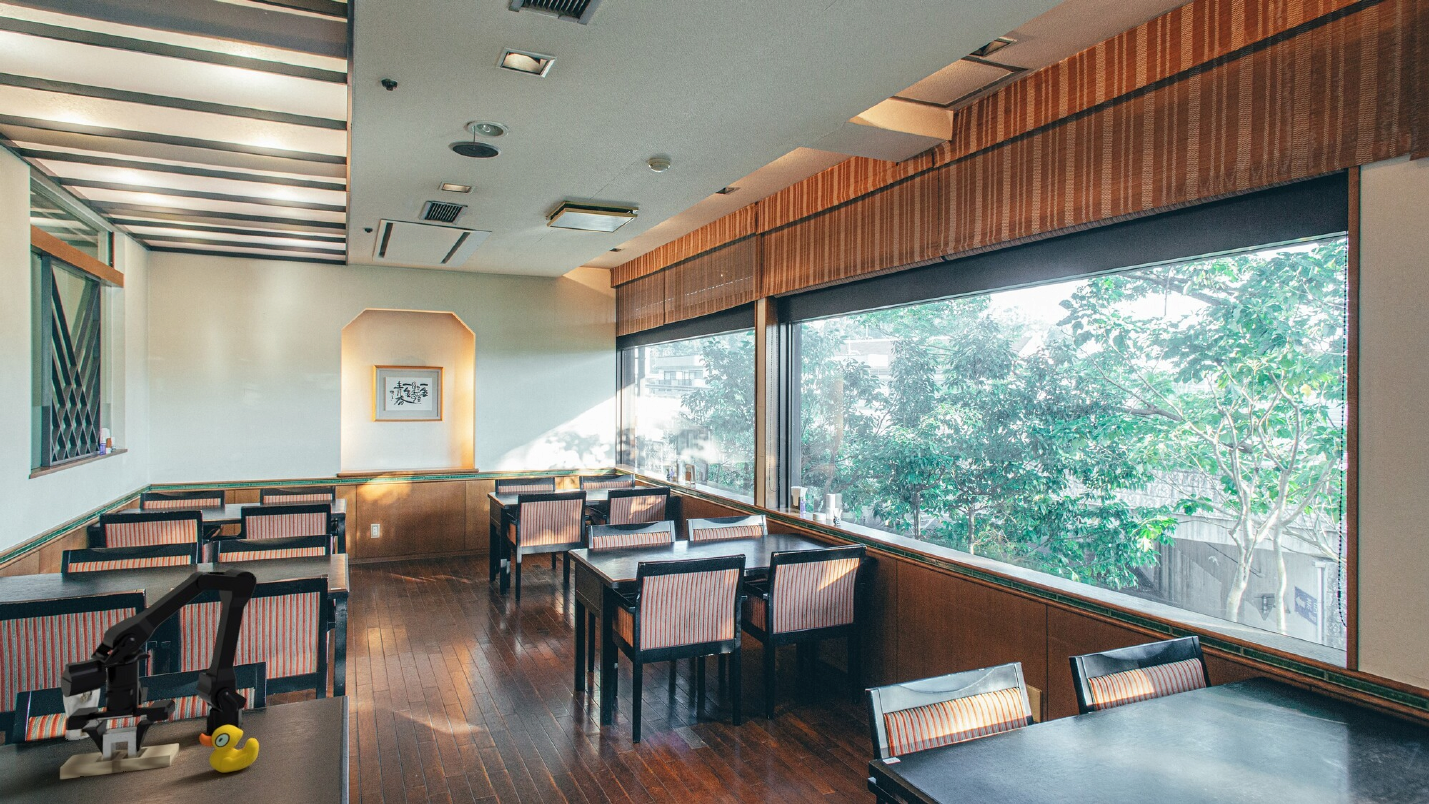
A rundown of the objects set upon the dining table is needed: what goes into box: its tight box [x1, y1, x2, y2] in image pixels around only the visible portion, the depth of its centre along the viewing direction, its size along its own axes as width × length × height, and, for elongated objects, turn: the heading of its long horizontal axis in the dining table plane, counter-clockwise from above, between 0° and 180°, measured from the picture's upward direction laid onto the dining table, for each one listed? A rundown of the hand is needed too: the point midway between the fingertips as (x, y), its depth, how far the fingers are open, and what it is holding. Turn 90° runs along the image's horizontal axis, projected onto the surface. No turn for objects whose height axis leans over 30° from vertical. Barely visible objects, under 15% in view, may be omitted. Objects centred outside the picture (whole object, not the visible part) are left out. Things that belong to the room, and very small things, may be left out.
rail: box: [59, 742, 180, 780], centre depth 171 cm, size 20×6×2 cm, turn 109°
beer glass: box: [62, 688, 101, 741], centre depth 186 cm, size 7×7×15 cm
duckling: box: [198, 725, 260, 774], centre depth 170 cm, size 11×5×10 cm, turn 111°
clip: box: [103, 725, 140, 762], centre depth 171 cm, size 6×3×6 cm, turn 109°
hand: (121, 752), depth 171 cm, fingers closed on clip, 6 cm apart
